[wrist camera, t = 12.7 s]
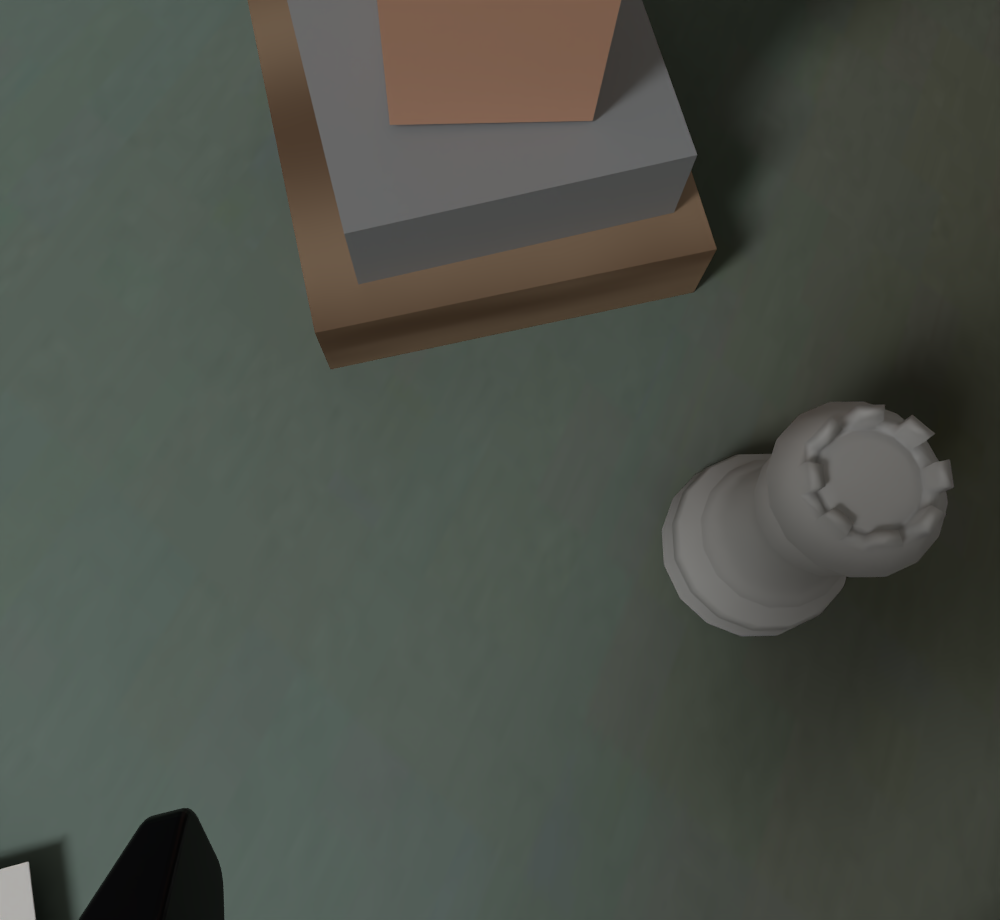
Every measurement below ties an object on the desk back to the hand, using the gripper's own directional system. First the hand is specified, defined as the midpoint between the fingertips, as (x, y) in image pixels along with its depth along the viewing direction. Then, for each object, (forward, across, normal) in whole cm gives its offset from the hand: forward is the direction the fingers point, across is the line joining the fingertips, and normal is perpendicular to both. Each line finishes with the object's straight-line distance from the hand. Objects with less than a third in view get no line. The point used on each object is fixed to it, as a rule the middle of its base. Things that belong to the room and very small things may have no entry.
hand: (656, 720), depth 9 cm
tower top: (+18, -2, -3) cm, 19 cm away
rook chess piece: (+12, -6, +8) cm, 15 cm away
